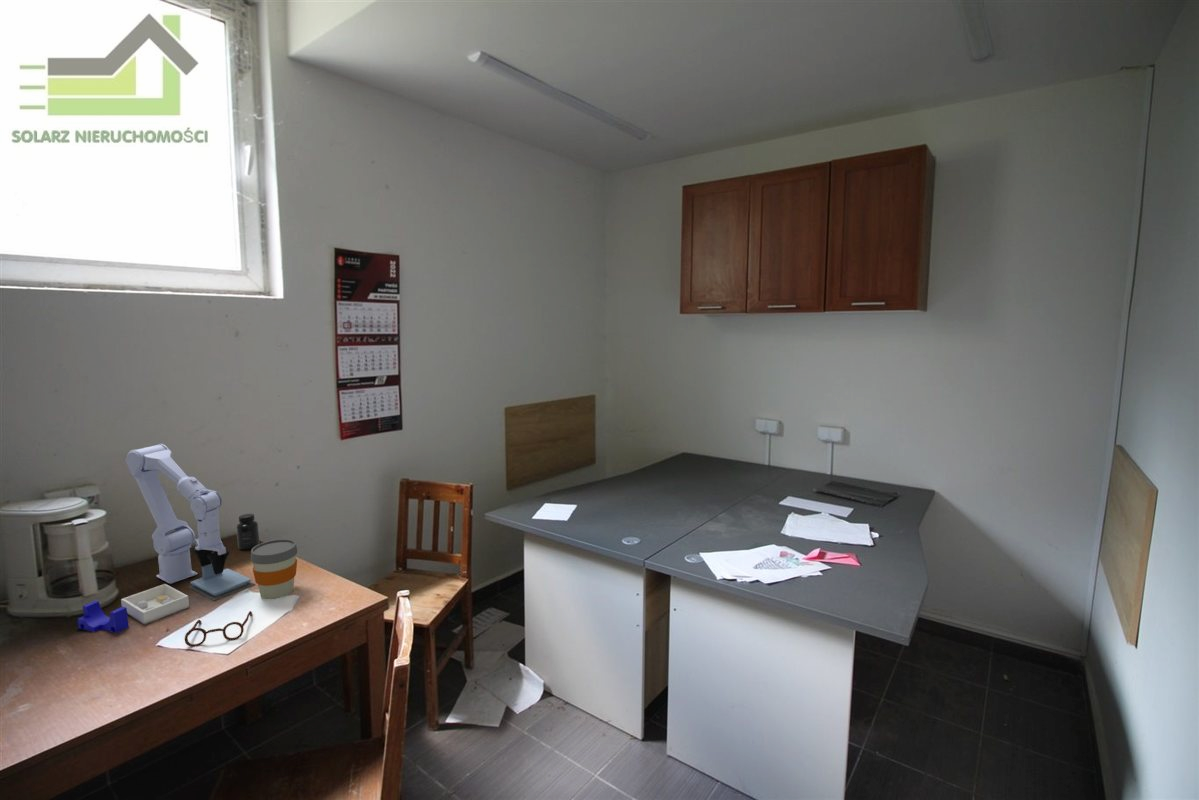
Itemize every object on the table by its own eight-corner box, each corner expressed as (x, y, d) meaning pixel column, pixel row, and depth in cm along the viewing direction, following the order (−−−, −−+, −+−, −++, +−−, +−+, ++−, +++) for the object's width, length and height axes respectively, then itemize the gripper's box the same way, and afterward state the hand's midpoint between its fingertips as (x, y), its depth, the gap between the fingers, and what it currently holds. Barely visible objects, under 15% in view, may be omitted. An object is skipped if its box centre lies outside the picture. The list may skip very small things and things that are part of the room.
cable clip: (79, 628, 152) (76, 608, 151) (97, 620, 156) (95, 600, 155) (110, 636, 148) (108, 615, 147) (128, 627, 153) (126, 607, 152)
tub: (122, 610, 161) (120, 599, 160) (166, 594, 170) (165, 583, 170) (144, 624, 154) (143, 612, 153) (189, 606, 163) (188, 595, 163)
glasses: (185, 649, 144) (183, 632, 143) (199, 623, 156) (198, 607, 155) (243, 639, 149) (242, 622, 148) (253, 615, 161) (252, 599, 160)
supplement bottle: (264, 543, 208) (261, 513, 207) (251, 550, 202) (248, 519, 200) (247, 542, 209) (244, 512, 207) (233, 549, 202) (230, 518, 201)
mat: (189, 588, 174) (189, 586, 174) (229, 573, 185) (229, 572, 184) (214, 601, 167) (214, 599, 167) (255, 584, 177) (254, 583, 177)
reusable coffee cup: (303, 580, 181) (300, 537, 179) (295, 599, 169) (292, 553, 167) (259, 585, 177) (256, 541, 175) (248, 605, 165) (244, 557, 163)
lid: (190, 586, 174) (189, 569, 174) (228, 572, 184) (226, 557, 183) (214, 598, 168) (212, 581, 167) (251, 583, 177) (250, 567, 176)
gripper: (183, 529, 176) (187, 569, 178) (206, 539, 169) (210, 581, 171) (207, 522, 182) (211, 561, 184) (231, 531, 175) (234, 572, 177)
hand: (212, 570), depth 178 cm, fingers open, 7 cm apart
